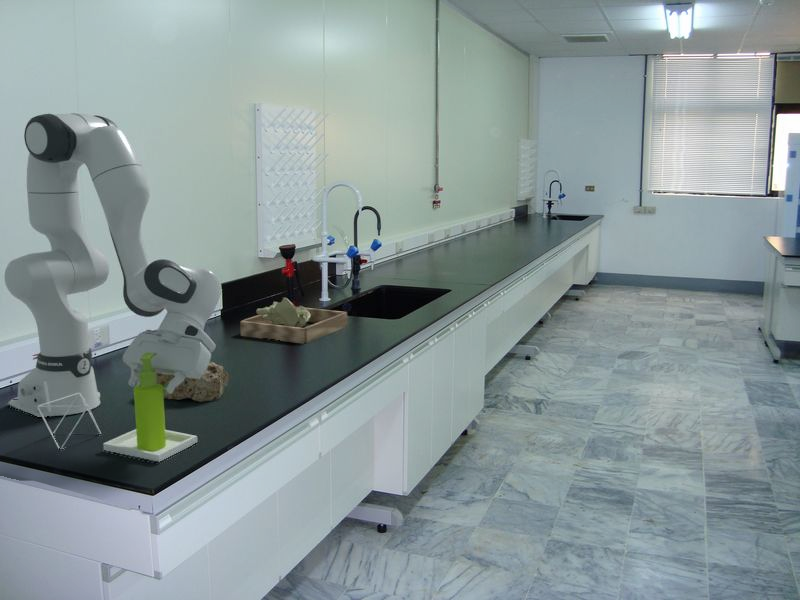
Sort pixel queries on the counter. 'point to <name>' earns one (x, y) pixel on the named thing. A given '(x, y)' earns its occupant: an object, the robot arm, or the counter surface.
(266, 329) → the specimen frame
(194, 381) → the rock
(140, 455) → the tray
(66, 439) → the geometric polyhedron
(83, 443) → the counter surface
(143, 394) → the soap dispenser
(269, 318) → the pelvis bone
